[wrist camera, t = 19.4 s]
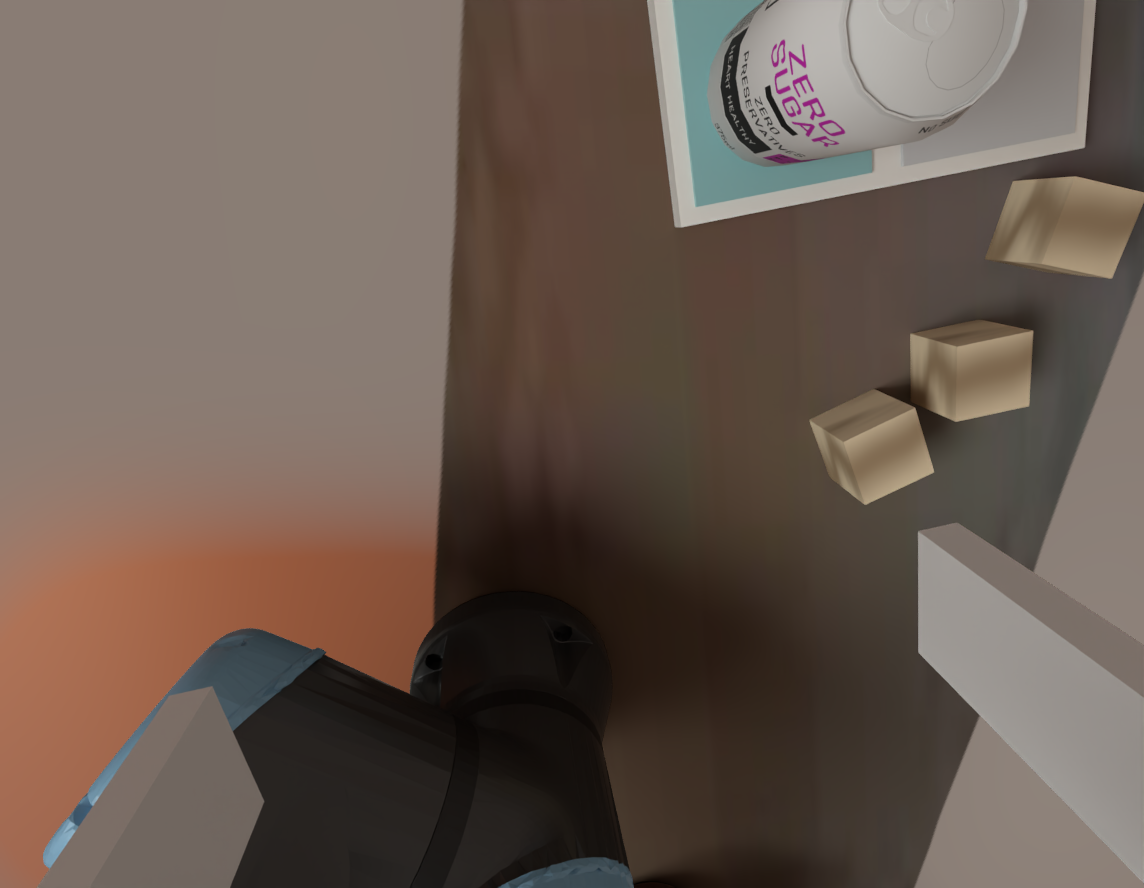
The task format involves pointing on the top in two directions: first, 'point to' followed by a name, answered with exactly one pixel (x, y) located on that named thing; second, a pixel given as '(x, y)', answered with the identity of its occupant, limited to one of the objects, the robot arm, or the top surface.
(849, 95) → the supplement can
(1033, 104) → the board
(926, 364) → the maple block
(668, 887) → the flowerpot
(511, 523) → the top surface
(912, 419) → the maple block
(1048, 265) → the maple block
